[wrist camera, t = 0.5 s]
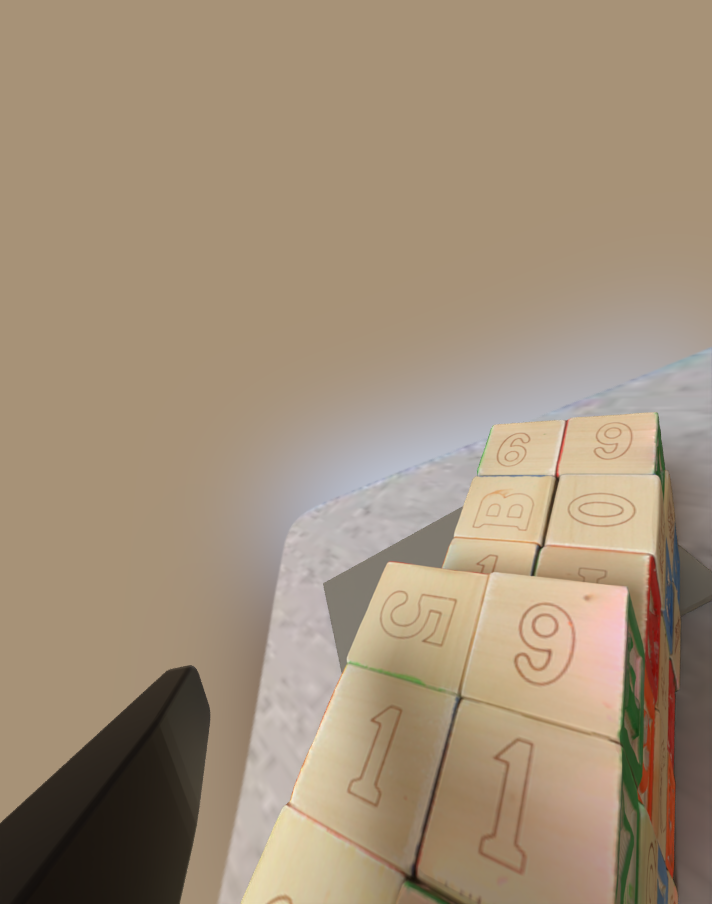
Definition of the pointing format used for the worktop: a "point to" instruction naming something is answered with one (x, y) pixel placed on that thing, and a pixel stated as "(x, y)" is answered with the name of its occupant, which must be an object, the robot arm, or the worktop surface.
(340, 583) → the mat
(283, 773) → the worktop surface
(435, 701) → the stack of blocks
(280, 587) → the worktop surface
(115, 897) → the robot arm
